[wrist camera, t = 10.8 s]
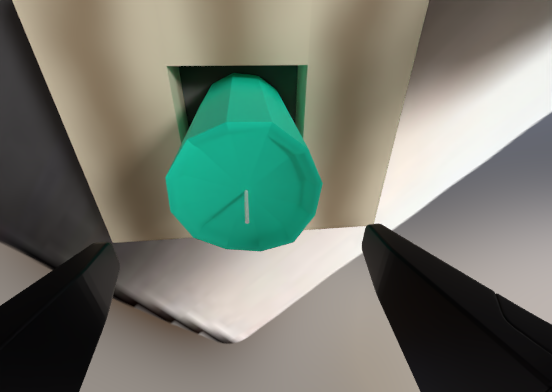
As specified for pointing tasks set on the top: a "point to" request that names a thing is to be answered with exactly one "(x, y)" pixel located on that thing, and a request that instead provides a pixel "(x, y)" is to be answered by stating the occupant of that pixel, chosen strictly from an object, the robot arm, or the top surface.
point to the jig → (223, 52)
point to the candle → (243, 169)
